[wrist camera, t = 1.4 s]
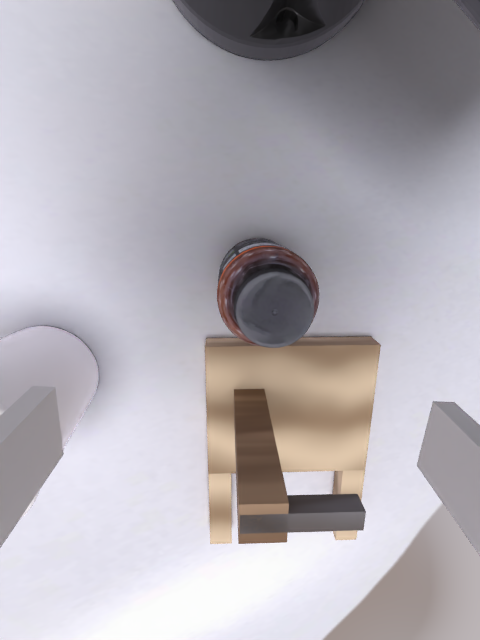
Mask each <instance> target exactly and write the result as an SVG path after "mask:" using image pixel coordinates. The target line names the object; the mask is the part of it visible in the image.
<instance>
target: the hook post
mask: <svg viewBox="0 0 480 640" xmlns="http://www.w3.org/2000/svg"><path fill="white" fill-rule="evenodd" d="M234 431H235V458H236V486H237V513H238V540H239V544H246V543H279V542H287V532H319V531H352V530H363V529H364V521H365V513H366V511H365V509H364V507H363V505H362V502H361V500H360V498H359V496H358V494H327V495H288V496H287V492H286V488H285V483H284V478H283V474H282V469H281V464H280V460H279V455H278V450H277V446H276V441H275V436H274V432H273V427H272V422H271V418H270V413H269V408H268V404H267V399H266V394H265V390H264V389H234Z"/></svg>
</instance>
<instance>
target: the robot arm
mask: <svg viewBox="0 0 480 640" xmlns="http://www.w3.org/2000/svg"><path fill="white" fill-rule="evenodd" d="M454 1H455V2H456V4H457V5H458V6H459V7H460V8H461V9H462V11H463V12H464V13H465V14H466V15H467V16H468V18H469V19H470V20H471V21H472V22H473V23H474V25H475V26H476V27H477V28H478V29H479V30H480V0H454ZM173 2H174V3H175V5H176V6H177V8H178V9H179V11H180V12H181V13H182V14H183V16H184V17H185V18H186V19H187V20H188V22H189V23H190V24H191V25H192V26H193V27H194V28H195V29H196V30H197V31H198V32H200V33H201V34H202V35H203V36H204V37H206V38H207V39H208V40H210V41H211V42H213V43H214V44H216V45H217V46H219V47H221V48H223V49H225V50H227V51H229V52H232V53H234V54H237V55H240V56H243V57H247V58H252V59H260V60H278V59H285V58H290V57H294V56H297V55H300V54H303V53H306V52H308V51H310V50H312V49H314V48H316V47H318V46H320V45H321V44H323V43H324V42H326V41H327V40H329V39H330V38H331V37H333V36H334V35H335V34H336V33H338V32H339V31H340V30H341V29H342V28H343V27H344V26H345V25H346V24H347V23H348V22H349V21H350V19H351V18H352V17H353V16H354V15H355V13H356V12H357V11H358V9H359V8H360V7H361V5H362V4H363V2H364V0H173ZM63 454H64V453H63V445H62V437H61V429H60V420H59V412H58V404H57V396H56V388H55V387H47V386H32V387H31V388H30V389H29V390H28V391H26V392H25V393H24V394H23V395H22V396H21V397H20V398H19V399H18V400H17V401H16V402H14V403H13V404H12V405H11V406H10V407H9V408H8V409H7V410H6V411H5V412H4V413H2V414H1V415H0V548H1V546H2V545H3V543H4V542H5V540H6V539H7V537H8V536H9V534H10V533H11V531H12V530H13V528H14V527H15V525H16V524H17V522H18V521H19V520H20V518H21V517H22V515H23V514H24V512H25V511H26V509H27V508H28V506H29V505H30V503H31V502H32V500H33V499H34V497H35V496H36V494H37V493H38V491H39V490H40V488H41V487H42V485H43V484H44V482H45V481H46V479H47V478H48V476H49V475H50V474H51V472H52V471H53V469H54V468H55V466H56V465H57V463H58V462H59V460H60V459H61V457H62V456H63ZM417 467H418V468H419V469H420V471H421V472H422V474H423V475H424V477H425V478H426V480H427V481H428V482H429V484H430V485H431V487H432V488H433V490H434V491H435V492H436V494H437V495H438V497H439V498H440V500H441V501H442V502H443V504H444V505H445V507H446V508H447V510H448V511H449V513H450V514H451V515H452V517H453V518H454V520H455V521H456V523H457V524H458V525H459V527H460V528H461V530H462V531H463V533H464V534H465V535H466V537H467V538H468V540H469V541H470V543H471V544H472V546H473V547H474V548H475V550H476V551H477V553H478V554H479V556H480V425H479V424H478V423H477V422H476V421H474V420H473V419H472V418H471V417H470V416H469V415H468V414H467V413H466V412H465V411H463V410H462V409H461V408H460V407H459V406H458V405H457V404H456V403H455V402H437V401H433V403H432V407H431V411H430V415H429V419H428V423H427V427H426V431H425V435H424V439H423V443H422V447H421V451H420V454H419V458H418V462H417Z"/></svg>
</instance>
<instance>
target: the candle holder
mask: <svg viewBox="0 0 480 640" xmlns="http://www.w3.org/2000/svg"><path fill="white" fill-rule="evenodd" d="M98 382H99V371H98V366H97V362H96V360H95V358H94V356H93V354H92V352H91V351H90V349H89V348H88V347H87V346H86V345H85V344H84V343H83V342H82V341H81V340H80V339H79V338H77V337H76V336H75V335H73V334H71V333H69V332H67V331H65V330H62V329H59V328H56V327H50V326H34V327H29V328H25V329H22V330H20V331H17V332H15V333H12V334H10V335H8V336H5V337H3V338H1V339H0V415H1V414H2V413H4V412H5V411H6V410H7V409H8V408H9V407H10V406H11V405H12V404H13V403H14V402H16V401H17V400H18V399H19V398H20V397H21V396H22V395H23V394H24V393H25V392H26V391H28V390H29V389H30V388H31V387H32V386H47V387H55V388H56V396H57V404H58V412H59V420H60V429H61V437H62V445H63V449H64V448H65V446H66V444H67V442H68V441H69V439H70V437H71V436H72V434H73V432H74V430H75V429H76V427H77V425H78V423H79V422H80V420H81V418H82V417H83V415H84V413H85V411H86V410H87V408H88V406H89V404H90V402H91V401H92V399H93V397H94V395H95V392H96V390H97V387H98ZM42 486H43V485H42ZM40 489H41V488H40ZM39 491H40V490H39ZM39 491H38V493H37V494H36V496H35V497H34V499H33V500H32V502H31V503H30V505H29V506H28V508H27V509H26V511H25V512H24V514H23V515H22V517H23V516H24V515H25V514H26V513H27V512H28V511H29V510H30V508H31V507H32V505H33V504H34V502H35V500H36V498H37V496H38V494H39ZM22 517H21V518H22ZM21 518H20V519H21Z"/></svg>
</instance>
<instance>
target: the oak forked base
mask: <svg viewBox="0 0 480 640" xmlns="http://www.w3.org/2000/svg"><path fill="white" fill-rule="evenodd" d="M380 346H381V345H380V344H379V343H378V342H377V341H376V340H374V339H373V338H372V337H371V336H370V337H301V338H300V339H298V340H297V341H296V342H294V343H292V344H290V345H287V346H284V347H279V348H268V347H263V346H256V345H252V344H249V343H247V342H245V341H243V340H241V339H239V338H206V343H205V367H206V403H207V438H208V474H209V510H210V544H225V543H232V535H231V473H236V458H235V431H234V389H264V390H265V394H266V399H267V404H268V408H269V413H270V418H271V422H272V427H273V432H274V436H275V441H276V446H277V450H278V455H279V460H280V464H281V469H282V472H307V471H335V475H334V485H333V494H358V496H359V498H360V500H361V498H362V490H363V482H364V474H365V466H366V458H367V450H368V442H369V434H370V426H371V418H372V410H373V402H374V394H375V386H376V378H377V370H378V362H379V354H380ZM333 534H334V537H335V540H355V539H356V537H357V530H352V531H333Z"/></svg>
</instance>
